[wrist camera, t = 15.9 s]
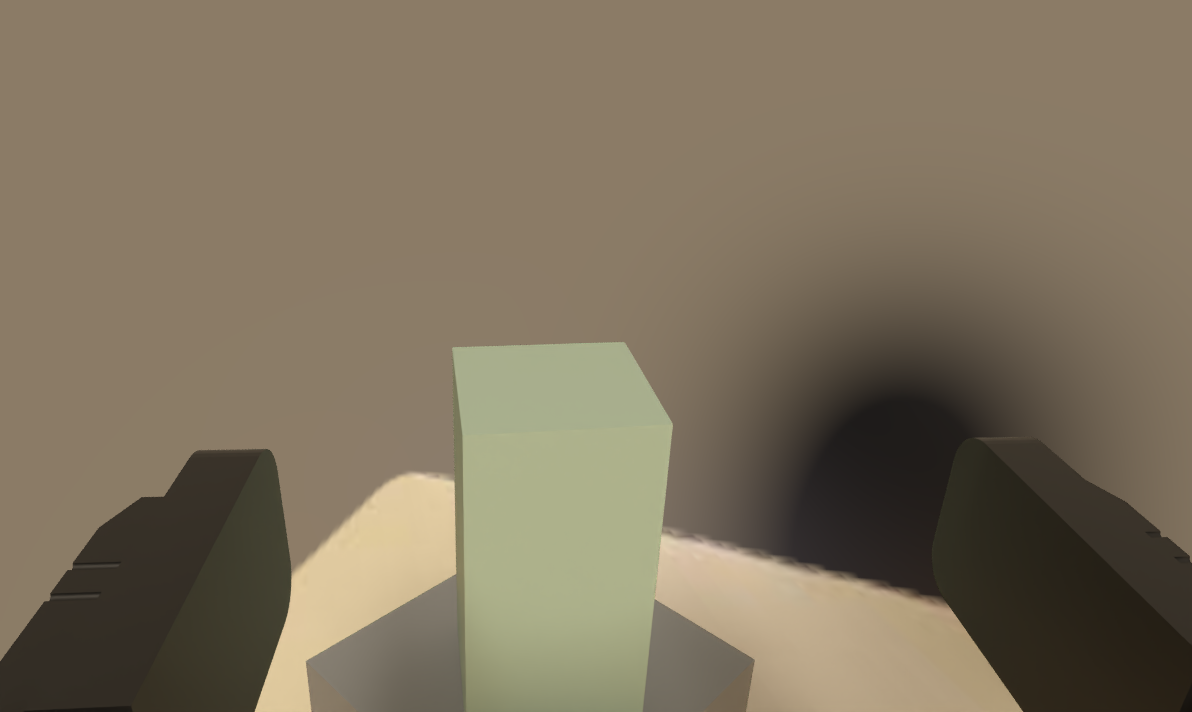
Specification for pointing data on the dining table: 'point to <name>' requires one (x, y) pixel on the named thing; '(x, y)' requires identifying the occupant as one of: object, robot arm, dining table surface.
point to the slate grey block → (433, 673)
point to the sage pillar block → (556, 525)
